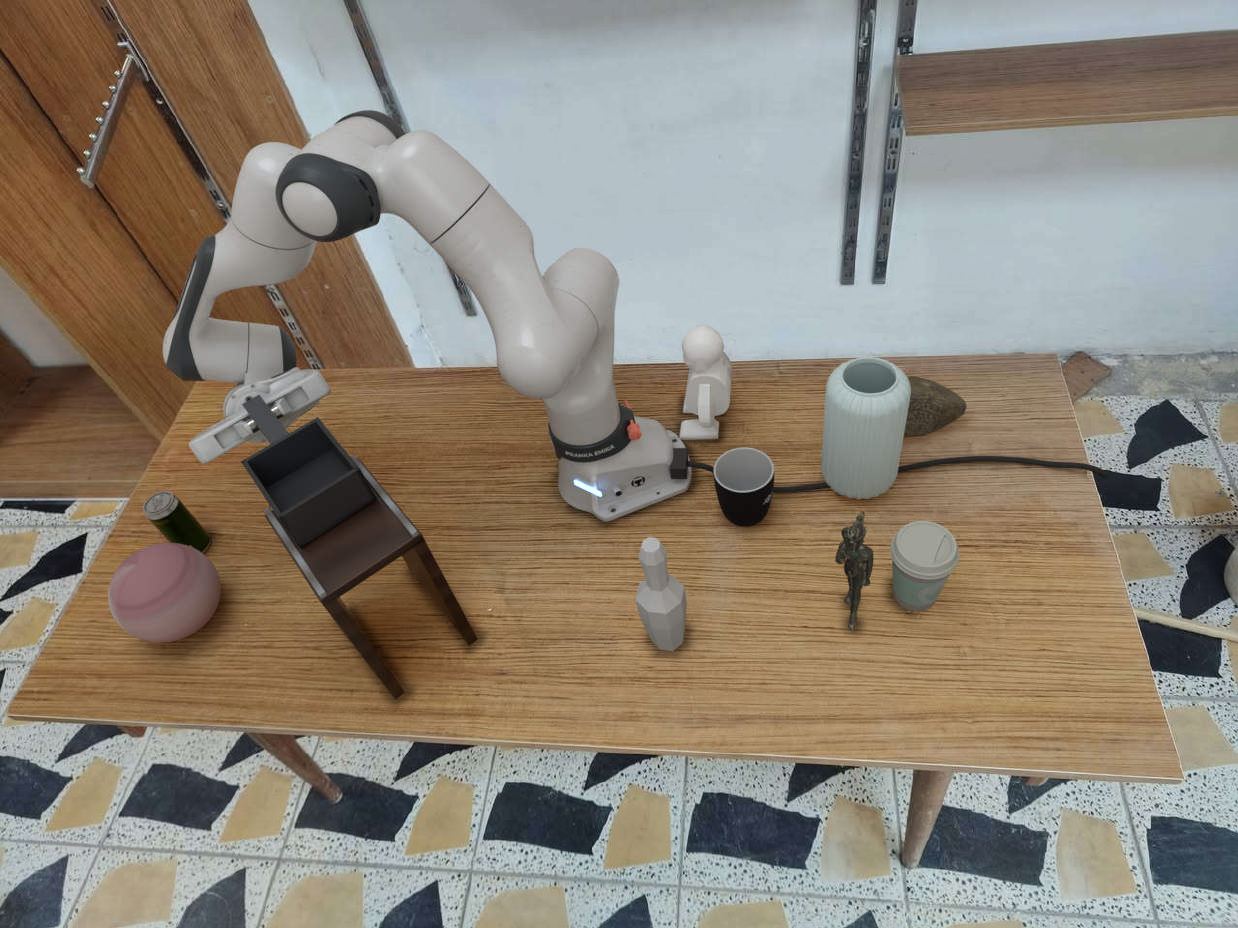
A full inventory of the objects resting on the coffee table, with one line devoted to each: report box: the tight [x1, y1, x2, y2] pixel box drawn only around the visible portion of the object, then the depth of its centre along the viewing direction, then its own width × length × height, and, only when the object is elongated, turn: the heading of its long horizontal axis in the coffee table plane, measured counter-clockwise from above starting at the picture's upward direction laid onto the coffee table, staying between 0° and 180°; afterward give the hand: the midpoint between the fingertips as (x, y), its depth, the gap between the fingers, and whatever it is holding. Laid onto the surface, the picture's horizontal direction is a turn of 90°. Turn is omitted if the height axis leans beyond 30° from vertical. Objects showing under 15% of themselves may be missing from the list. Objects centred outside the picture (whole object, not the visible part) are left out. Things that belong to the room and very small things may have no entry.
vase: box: [820, 356, 911, 501], centre depth 121 cm, size 12×12×22 cm
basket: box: [240, 395, 377, 547], centre depth 108 cm, size 24×11×6 cm, turn 39°
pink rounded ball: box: [107, 542, 222, 644], centre depth 124 cm, size 15×15×15 cm
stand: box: [263, 454, 479, 700], centre depth 113 cm, size 18×14×27 cm
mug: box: [712, 446, 775, 528], centre depth 125 cm, size 12×9×10 cm
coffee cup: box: [889, 520, 960, 612], centre depth 110 cm, size 8×8×12 cm
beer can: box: [142, 490, 212, 554], centre depth 136 cm, size 5×5×12 cm
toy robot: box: [678, 324, 733, 441], centre depth 135 cm, size 14×9×20 cm, turn 171°
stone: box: [904, 375, 968, 438], centre depth 133 cm, size 17×9×8 cm, turn 93°
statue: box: [835, 510, 874, 631], centre depth 106 cm, size 5×6×20 cm
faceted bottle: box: [635, 536, 688, 652], centre depth 107 cm, size 6×6×22 cm
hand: (265, 419), depth 111 cm, fingers closed on basket, 3 cm apart
